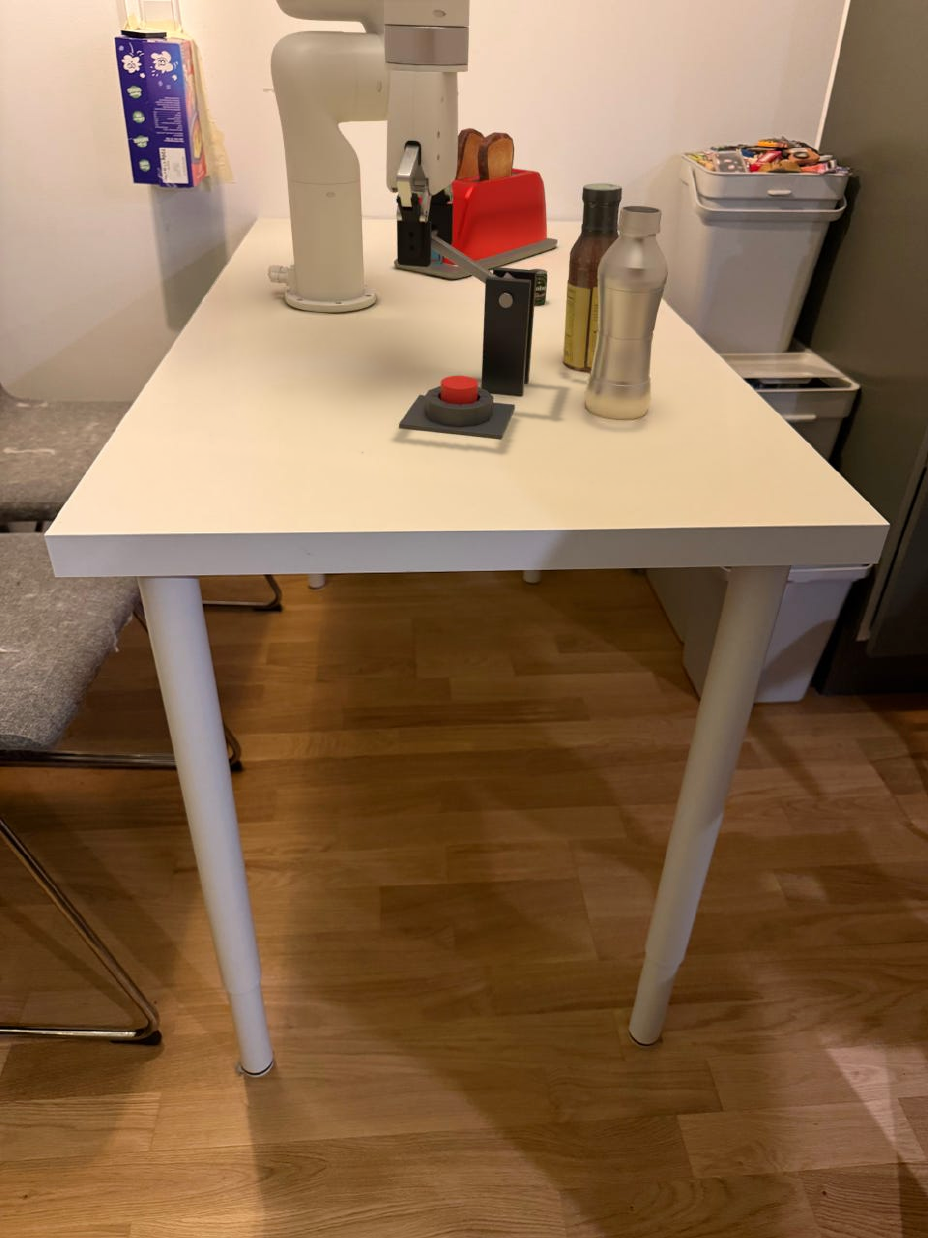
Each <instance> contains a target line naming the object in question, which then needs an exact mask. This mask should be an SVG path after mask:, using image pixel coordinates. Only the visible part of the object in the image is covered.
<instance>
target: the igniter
mask: <svg viewBox="0 0 928 1238" xmlns="http://www.w3.org/2000/svg"><path fill="white" fill-rule="evenodd" d="M515 409H516V404H512V403H503V402H495V401H494V395H493V394H490V393H489V392H488V391H487V390H484V389H482V388H481V387H479V386H478V398H477V402H474V403H472V404H462V405H459V404H450V403H447V402H444V401H441V385H439V386H436V387H434V388H433V387H432V388H431V389H428V390H427V392H426V393H425V394H419V395H418V396H417V398H416V399H415V400H414V402H413V403H412V405H411V406H410V408H409V409H408V410H407V412H406V413H405V415H404V416H403V417H402V419H401V420H400V422H399V423H398V428H399V429H402V430H413V431H420V432H429V433H430V432H431V433H438V434H439V433H440V434H447V435H457V436H464V437H474V438H484V439H493V440H502V439H503V438H504V435H505V433H506V431H507V427H508V425H509V423H510V421H511V419H512V416H513V415H514V412H515Z"/></svg>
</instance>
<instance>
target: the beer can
mask: <svg viewBox="0 0 928 1238" xmlns="http://www.w3.org/2000/svg"><path fill="white" fill-rule="evenodd" d="M530 270H536V271H537V276H536V290H535V304H534V306H542V305H545V303H546V299H547V290H548V289H547V288H548V271H547V270H546V269H542V268H531V269H530Z"/></svg>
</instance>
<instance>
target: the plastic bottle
mask: <svg viewBox="0 0 928 1238" xmlns="http://www.w3.org/2000/svg"><path fill="white" fill-rule="evenodd" d="M619 211H620V212H619V217H618V223H617V232H619V233H618V235H619V237H618V238H617V239H616V240H615V241H614V243H613V244H612V245H611V246H610V247H609V248H608V250H607V251H606V253H605V254H604V255H603V257H602V258H601V261H600V264H599V266H598V276H597V278H598V307H599V310H598V329H597V341H596V347H595V352H594V357H593V363H592V368H591V371H590V373H588V378H587V380H586V385H585V389H584V403H585V408H586V409H587V411H589V412H590V413H592V414H593V415H596V416H598V417H602V418H606V419H610V420H617V421H618V420H621V421H626V420H627V421H628V420H635V419H639V418H642V417H644V416H645V415H646V414H647V412H648V409H649V406H650V403H651V399H652V381H651V363H652V362H651V361H652V345H653V339H654V331H655V328H656V322H657V317H658V313H659V309H660V305H661V302H662V298H663V295H664V290H665V287H666V285H667V279H668V275H669V270H668V269H669V268H668V262H667V260H666V257H665V254H664V252H663V250H662V248H661V247H660V244H659V242H658V241H657V235H659V234H660V232H661V220H662V209H660V208H657V207H653V206H645V205H626V206H622V207H621V208H620V210H619Z"/></svg>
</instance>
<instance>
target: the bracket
mask: <svg viewBox="0 0 928 1238" xmlns="http://www.w3.org/2000/svg"><path fill="white" fill-rule="evenodd" d="M492 273H493V274H495V275H496V276H498V277H489V276H488V277H487V278H486V282H485V283H484V284H485V286H484V309H483V310H484V311H483V334H482V335H483V336H482V357H481V358H482V360H481V382H480V384H481V385H480V388H482V389H484V390H487V391H488V392H489V393H490V394H491V395H502V396H510V397H518V398H522V397H523V395H524V392H525V384H526V385H528V384H529V381H530V371H531V358H532V344H533V330H534V317H535V305H534V304H535V290H536V276H537V271H536V270H531V269H525V268H512V267H501V266H497V267H494V268H492ZM506 273H509V274H510V275H512V276H513V277H515V278H516V279H513V278H503V277H504V276H505V274H506Z"/></svg>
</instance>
